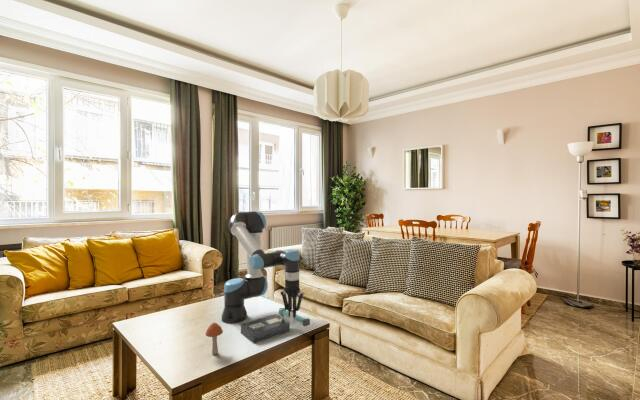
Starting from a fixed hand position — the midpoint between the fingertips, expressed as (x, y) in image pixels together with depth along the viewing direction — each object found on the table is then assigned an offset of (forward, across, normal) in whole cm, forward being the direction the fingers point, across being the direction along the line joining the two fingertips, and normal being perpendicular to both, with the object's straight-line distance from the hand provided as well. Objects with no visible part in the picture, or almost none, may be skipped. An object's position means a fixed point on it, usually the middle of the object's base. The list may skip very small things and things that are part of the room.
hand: (292, 323), depth 174 cm
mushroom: (+8, -29, -27) cm, 41 cm away
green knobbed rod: (0, -1, +4) cm, 5 cm away
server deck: (+7, -16, +1) cm, 18 cm away
